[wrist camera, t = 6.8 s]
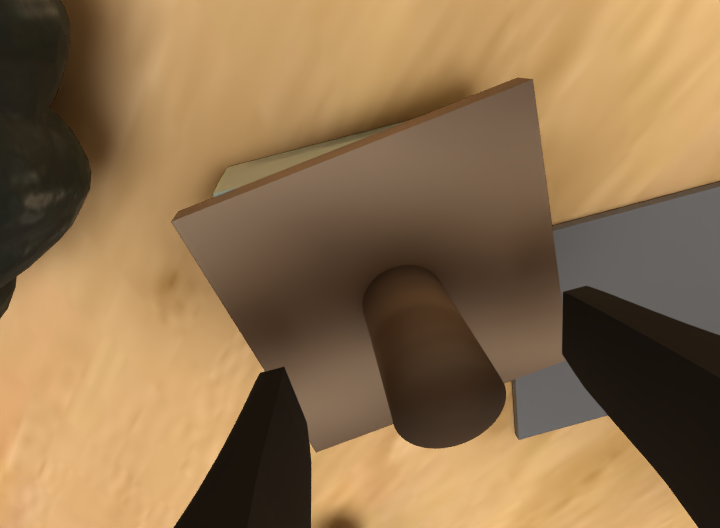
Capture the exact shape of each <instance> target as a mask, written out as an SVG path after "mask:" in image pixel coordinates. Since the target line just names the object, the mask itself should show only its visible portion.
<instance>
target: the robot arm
mask: <svg viewBox="0 0 720 528" xmlns="http://www.w3.org/2000/svg"><path fill="white" fill-rule="evenodd" d="M562 355H563V356H564V358H565V359H566V361H567V362H568V364H569V365H570V367H571V369H572V370H573V372H574V373H575V375H576V376H577V378H578V379H579V380H580V382H581V383H582V385H583V386H584V388H585V389H586V390H587V391H588V392H589V394H590V395H591V396H592V397H593V398H594V400H595V401H596V402H597V403H598V404H599V405H600V407H601V408H602V409H603V410H604V411H605V412H606V414H607V415H608V416H609V417H610V418H611V419H612V420H613V422H614V423H615V424H616V425H617V426H618V427H619V428H620V430H621V431H622V432H623V433H624V434H625V435H626V436H627V438H628V439H629V440H630V441H631V442H632V443H633V444H634V446H635V447H636V448H637V449H638V450H639V451H640V453H641V454H642V455H643V456H644V457H645V458H646V459H647V461H648V462H649V463H650V464H651V465H652V466H653V468H654V469H655V470H656V471H657V473H658V474H659V475H660V476H661V477H662V479H663V480H664V481H665V482H666V484H667V485H668V486H669V488H670V489H671V490H672V492H673V493H674V495H675V496H676V497H677V499H678V500H679V501H680V503H681V504H682V506H683V507H684V508H685V510H686V511H687V512H688V514H689V515H690V517H691V518H692V519H693V521H694V522H695V523H696V525H697V526H698V528H720V335H718V334H715V333H712V332H709V331H706V330H703V329H701V328H698V327H695V326H692V325H689V324H687V323H684V322H681V321H679V320H676V319H673V318H671V317H668V316H665V315H663V314H660V313H658V312H655V311H652V310H650V309H647V308H645V307H642V306H640V305H637V304H635V303H632V302H629V301H627V300H624V299H622V298H619V297H617V296H614V295H611V294H609V293H606V292H604V291H601V290H598V289H595V288H592V287H589V286H583V287H579V288H575V289H572V290H568V291H564V292H563V320H562ZM174 528H311V454H310V444H309V435H308V426H307V421H306V419H305V416H304V414H303V411H302V409H301V406H300V404H299V402H298V399H297V397H296V394H295V392H294V389H293V387H292V384H291V382H290V379H289V377H288V374H287V372H286V370H285V367H281V368H277V369H273V370H269V371H266V372H262V373H260V374H259V376H258V377H257V380H256V382H255V384H254V386H253V388H252V390H251V392H250V394H249V396H248V399H247V401H246V403H245V405H244V407H243V409H242V411H241V413H240V415H239V417H238V419H237V421H236V423H235V425H234V427H233V429H232V431H231V432H230V434H229V436H228V438H227V440H226V442H225V444H224V446H223V448H222V450H221V451H220V453H219V455H218V457H217V459H216V460H215V462H214V464H213V465H212V467H211V469H210V471H209V472H208V474H207V476H206V477H205V479H204V481H203V483H202V484H201V486H200V488H199V489H198V491H197V493H196V494H195V496H194V497H193V499H192V500H191V502H190V504H189V505H188V507H187V508H186V510H185V511H184V513H183V514H182V516H181V517H180V519H179V520H178V522H177V523H176V525H175V526H174Z"/></svg>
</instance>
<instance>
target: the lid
mask: <svg viewBox="0 0 720 528" xmlns="http://www.w3.org/2000/svg"><path fill="white" fill-rule="evenodd" d="M171 222H172V224H173V226H174V227H175V229H176V230H177V232H178V234H179V235H180V237H181V238H182V240H183V241H184V243H185V245H186V246H187V248H188V249H189V251H190V253H191V254H192V256H193V257H194V259H195V261H196V262H197V264H198V265H199V267H200V269H201V270H202V272H203V273H204V275H205V276H206V278H207V280H208V281H209V283H210V284H211V286H212V288H213V289H214V291H215V292H216V294H217V296H218V297H219V299H220V300H221V302H222V304H223V305H224V307H225V308H226V310H227V311H228V313H229V315H230V316H231V318H232V319H233V321H234V323H235V324H236V326H237V327H238V329H239V331H240V332H241V334H242V335H243V337H244V338H245V340H246V342H247V343H248V345H249V346H250V348H251V350H252V351H253V353H254V354H255V356H256V358H257V359H258V361H259V362H260V364H261V366H262V367H263V369H264V370H265V372H266V371H269V370H273V369H277V368H281V367H285V370H286V372H287V374H288V377H289V379H290V382H291V384H292V387H293V389H294V392H295V394H296V397H297V399H298V402H299V404H300V406H301V409H302V411H303V414H304V416H305V419H306V421H307V426H308V435H309V442H310V443H311V445H312V447H313V448H314V450H315V451H316V452H319V451H321V450H324V449H327V448H329V447H332V446H335V445H338V444H340V443H343V442H346V441H348V440H351V439H354V438H357V437H359V436H362V435H365V434H367V433H370V432H373V431H376V430H378V429H381V428H384V427H386V426H389V425H392V424H394V427H395V429H396V431H397V432H398V434H399V435H400V436H401V437H402V438H403V439H405V440H406V441H408V442H409V443H411V444H414V445H416V446H420V447H424V448H447V447H452V446H456V445H459V444H462V443H465V442H467V441H470V440H471V439H473V438H475V437H477V436H479V435H480V434H482V433H483V432H484V431H486V430H487V429H488V428H489V427H490V426H491V425H492V424H493V423H494V422H495V421H496V419H497V418H498V416H499V415H500V413H501V411H502V409H503V407H504V404H505V399H506V389H505V385H504V383H506V382H509V381H512V380H514V379H517V378H520V377H522V376H525V375H528V374H531V373H533V372H536V371H539V370H541V369H544V368H547V367H550V366H552V365H555V364H558V363H561V362H563V361H566V359H565V358H564V356H563V355H562V320H563V305H562V297H561V290H560V282H559V275H558V267H557V259H556V252H555V244H554V237H553V229H552V222H551V214H550V206H549V199H548V191H547V184H546V176H545V168H544V161H543V153H542V146H541V138H540V130H539V123H538V115H537V108H536V100H535V92H534V85H533V79H525V78H516V79H513V80H510V81H508V82H505V83H503V84H500V85H498V86H495V87H493V88H490V89H488V90H485V91H483V92H480V93H477V94H475V95H472V96H470V97H467V98H465V99H462V100H460V101H457V102H455V103H452V104H450V105H447V106H444V107H442V108H439V109H437V110H434V111H432V112H429V113H427V114H424V115H422V116H419V117H417V118H414V119H411V120H409V121H406V122H404V123H401V124H399V125H396V126H394V127H391V128H389V129H386V130H384V131H381V132H378V133H376V134H373V135H371V136H368V137H366V138H363V139H361V140H358V141H356V142H353V143H351V144H348V145H345V146H343V147H340V148H338V149H335V150H333V151H330V152H328V153H325V154H323V155H320V156H318V157H315V158H312V159H310V160H307V161H305V162H302V163H300V164H297V165H295V166H292V167H290V168H287V169H285V170H282V171H279V172H277V173H274V174H272V175H269V176H267V177H264V178H262V179H259V180H257V181H254V182H252V183H249V184H246V185H244V186H241V187H239V188H236V189H234V190H231V191H229V192H226V193H224V194H221V195H219V196H216V197H214V198H211V199H208V200H206V201H203V202H201V203H198V204H196V205H193V206H191V207H188V208H186V209H183V210H181V211H178V213H177V214H176V215H175V217H174V218H173V220H172V221H171Z"/></svg>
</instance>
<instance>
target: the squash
mask: <svg viewBox="0 0 720 528" xmlns="http://www.w3.org/2000/svg"><path fill="white" fill-rule="evenodd" d="M69 44H70V22H69V19H68V16H67V13H66V10H65V8H64V6H63V4H62V2H61V1H60V0H0V318H1V317H2V315H3V314H4V313H5V311H6V310H7V309H8V306H9V303H10V301H11V298H12V295H13V292H14V290H15V287H16V277H17V276H18V275H19V274H20V273H22V272H23V271H25V270H26V269H27V268H29V267H30V266H31V265H32V264H33V263H34V262H35V261H36V260H38V259H39V258H40V257H41V256H42V255H43V254H44V253H45V252H46V251H47V250H49V249H50V248H51V247H52V246H53V245H54V244H55V243H56V242H57V241H59V240H60V238H61V237H62V236H63V235H64V234H65V233H66V232H67V230H68V229H69V228H70V227H71V226H72V224H73V222H74V221H75V219H76V217H77V215H78V213H79V211H80V209H81V207H82V205H83V202H84V200H85V198H86V196H87V194H88V192H89V189H90V180H91V170H90V166H89V162H88V158H87V156H86V155H85V153H84V151H83V149H82V147H81V145H80V143H79V141H78V139H77V137H76V136H75V134H74V133H73V132H72V130H71V129H70V128H69V126H68V125H67V124H66V123H65V122H64V121H63V120H62V119H61V118H60V117H59V116H58V115H57V114H56V113H55V112H54V111H53V110H52V109H51V108H50V107H49V106H50V104H51V103H52V101H53V100H54V98H55V96H56V93H57V91H58V88H59V85H60V83H61V80H62V76H63V73H64V69H65V66H66V63H67V59H68V53H69Z"/></svg>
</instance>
